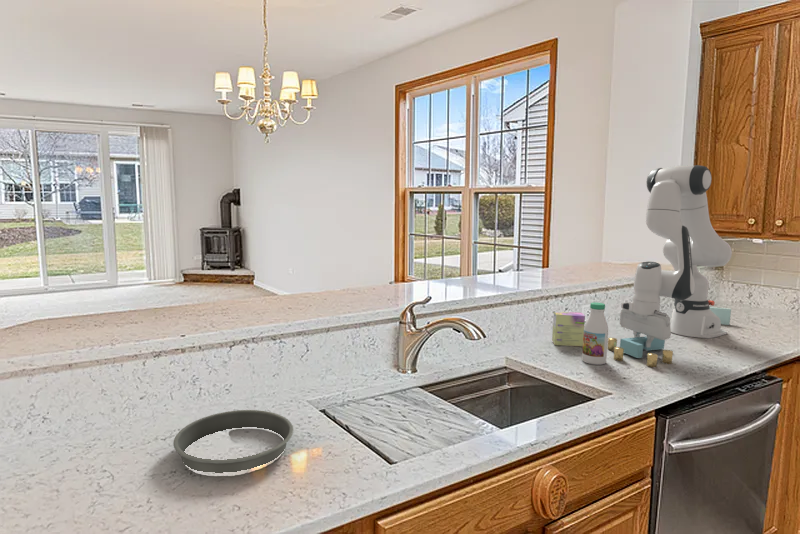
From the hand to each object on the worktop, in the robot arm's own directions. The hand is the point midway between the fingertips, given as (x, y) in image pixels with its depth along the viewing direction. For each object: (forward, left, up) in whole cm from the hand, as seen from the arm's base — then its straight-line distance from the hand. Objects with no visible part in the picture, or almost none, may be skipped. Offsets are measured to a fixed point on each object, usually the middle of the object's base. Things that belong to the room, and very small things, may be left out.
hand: (642, 345), depth 190 cm
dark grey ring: (+142, +27, -3) cm, 144 cm away
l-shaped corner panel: (-67, -26, -3) cm, 72 cm away
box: (+20, -16, -2) cm, 26 cm away
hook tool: (0, +3, -2) cm, 3 cm away
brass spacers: (+9, +4, -2) cm, 10 cm away
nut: (+5, +5, -2) cm, 7 cm away
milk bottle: (+25, +4, -2) cm, 25 cm away
